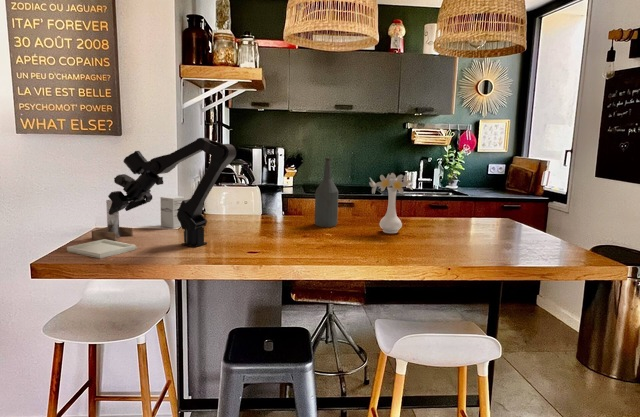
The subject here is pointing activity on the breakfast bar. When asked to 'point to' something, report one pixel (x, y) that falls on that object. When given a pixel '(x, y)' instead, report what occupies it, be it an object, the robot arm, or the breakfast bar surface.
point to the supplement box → (170, 211)
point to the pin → (112, 220)
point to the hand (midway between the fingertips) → (117, 211)
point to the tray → (101, 248)
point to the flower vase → (391, 200)
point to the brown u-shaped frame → (110, 233)
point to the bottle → (326, 200)
